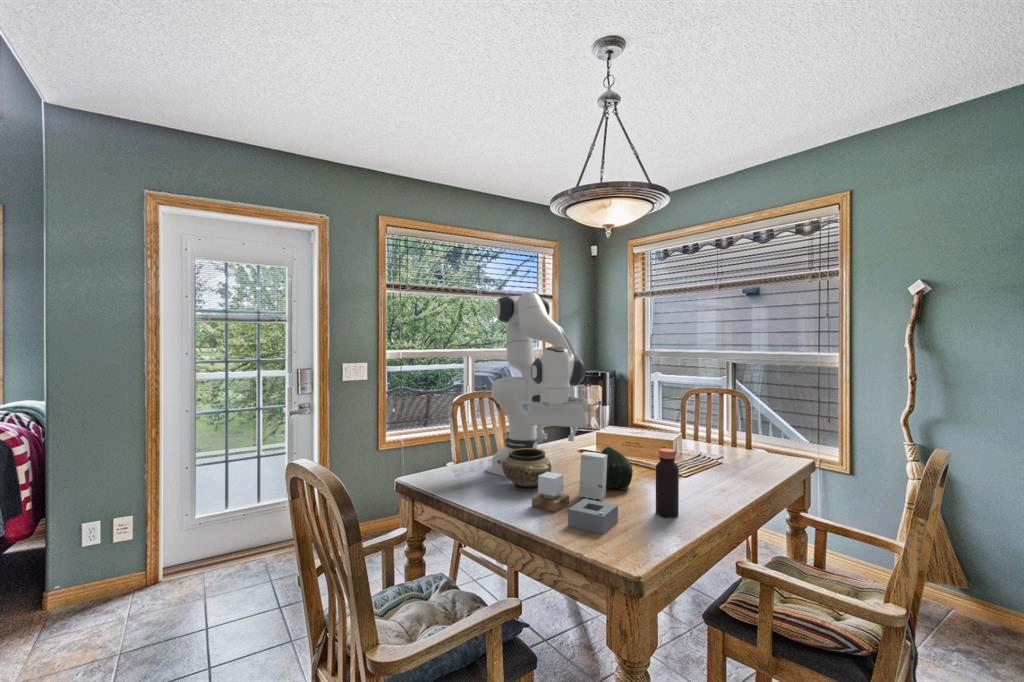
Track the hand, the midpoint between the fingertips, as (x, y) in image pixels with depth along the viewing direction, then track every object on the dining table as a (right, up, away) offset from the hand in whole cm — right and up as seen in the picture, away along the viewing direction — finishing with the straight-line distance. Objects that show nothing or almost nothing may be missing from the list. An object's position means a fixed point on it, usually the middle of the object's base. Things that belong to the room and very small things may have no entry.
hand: (557, 440), depth 158 cm
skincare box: (+13, -22, +12) cm, 28 cm away
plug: (-2, -22, +2) cm, 22 cm away
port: (+9, -22, -13) cm, 27 cm away
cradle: (-2, -22, +2) cm, 22 cm away
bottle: (+34, -22, -5) cm, 41 cm away
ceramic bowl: (-9, -22, +23) cm, 33 cm away
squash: (+22, -22, +23) cm, 38 cm away
